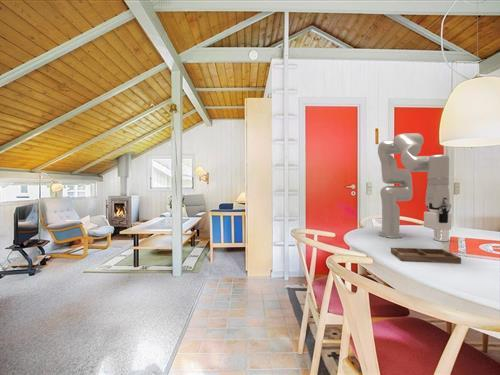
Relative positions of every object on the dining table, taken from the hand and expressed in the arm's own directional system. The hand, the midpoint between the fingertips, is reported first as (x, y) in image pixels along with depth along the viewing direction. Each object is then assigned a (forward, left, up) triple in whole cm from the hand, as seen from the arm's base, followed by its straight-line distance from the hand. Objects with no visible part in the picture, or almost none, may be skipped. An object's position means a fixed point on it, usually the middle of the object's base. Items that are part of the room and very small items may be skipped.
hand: (437, 220), depth 106 cm
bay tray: (0, -6, -17) cm, 18 cm away
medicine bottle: (0, 0, -4) cm, 4 cm away
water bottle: (-33, +20, -17) cm, 43 cm away
